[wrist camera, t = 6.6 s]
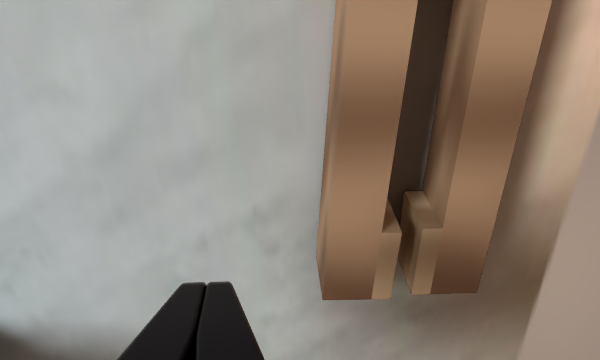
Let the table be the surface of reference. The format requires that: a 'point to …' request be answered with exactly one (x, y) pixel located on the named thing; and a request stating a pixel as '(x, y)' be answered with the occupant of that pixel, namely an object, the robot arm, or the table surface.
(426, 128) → the table surface
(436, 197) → the tongs fixed
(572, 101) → the table surface
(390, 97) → the tongs arm
